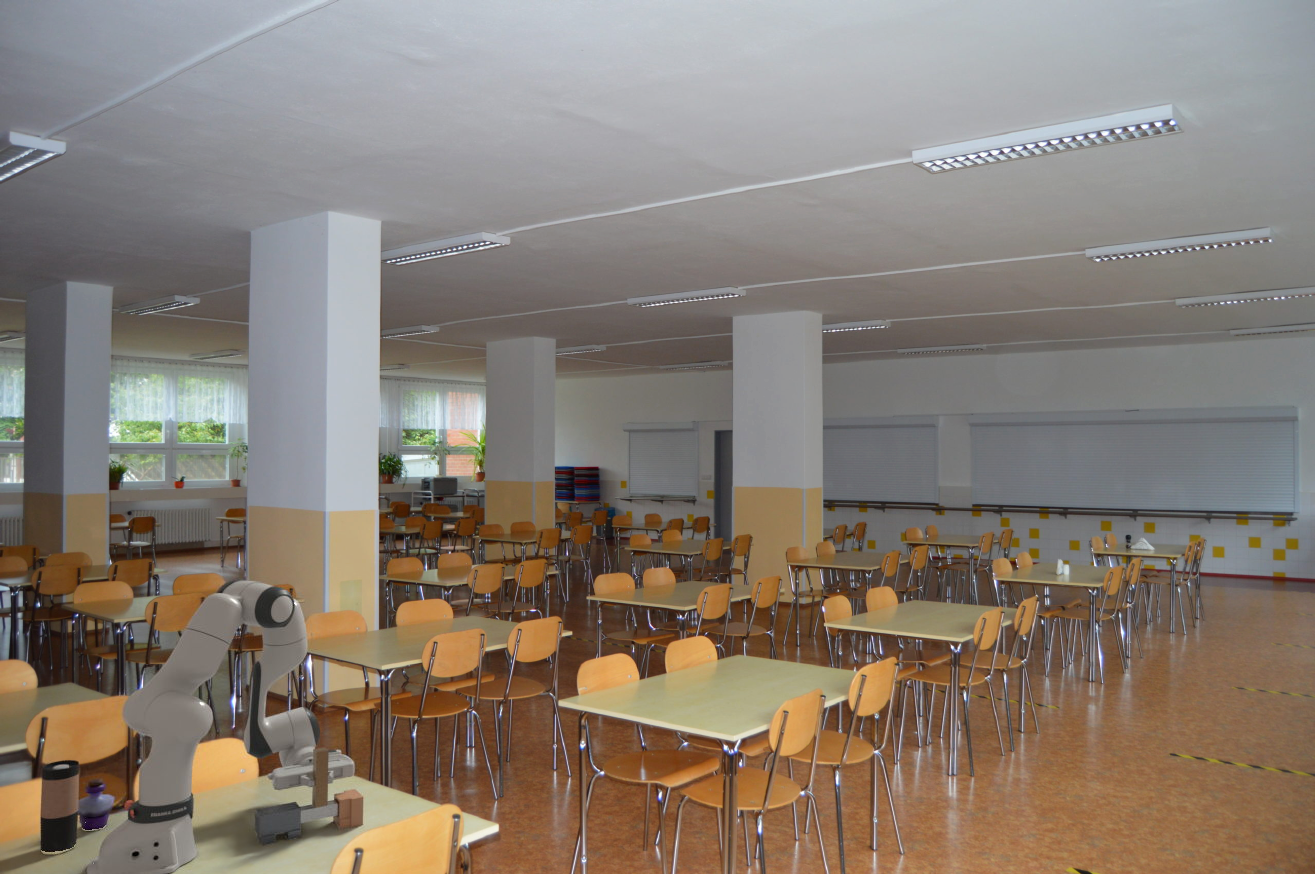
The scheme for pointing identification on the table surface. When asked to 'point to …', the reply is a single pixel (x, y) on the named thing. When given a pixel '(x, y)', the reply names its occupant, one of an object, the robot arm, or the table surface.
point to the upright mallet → (319, 790)
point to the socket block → (349, 809)
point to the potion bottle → (95, 806)
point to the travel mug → (59, 805)
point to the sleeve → (278, 822)
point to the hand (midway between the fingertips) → (321, 781)
